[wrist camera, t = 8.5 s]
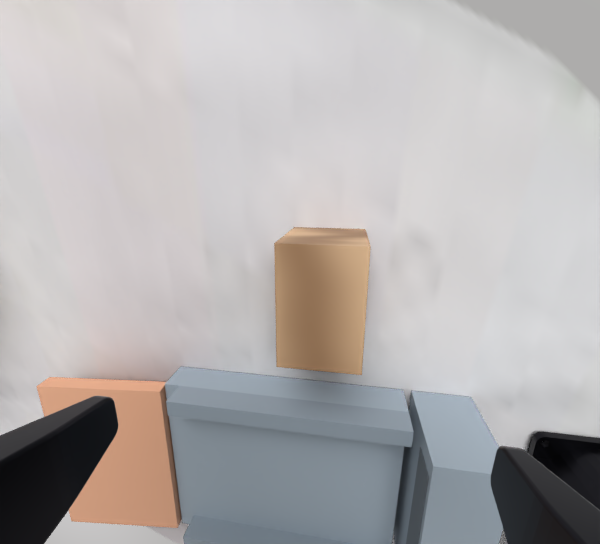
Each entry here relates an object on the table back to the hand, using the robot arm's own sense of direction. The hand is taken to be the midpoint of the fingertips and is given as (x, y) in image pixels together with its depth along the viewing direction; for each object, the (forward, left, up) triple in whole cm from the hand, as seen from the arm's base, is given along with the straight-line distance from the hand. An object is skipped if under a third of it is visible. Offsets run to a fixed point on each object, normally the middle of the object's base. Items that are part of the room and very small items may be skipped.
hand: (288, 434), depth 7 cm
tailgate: (+10, +13, -10) cm, 19 cm away
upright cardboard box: (0, 0, -12) cm, 12 cm away
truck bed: (0, +13, -12) cm, 18 cm away
